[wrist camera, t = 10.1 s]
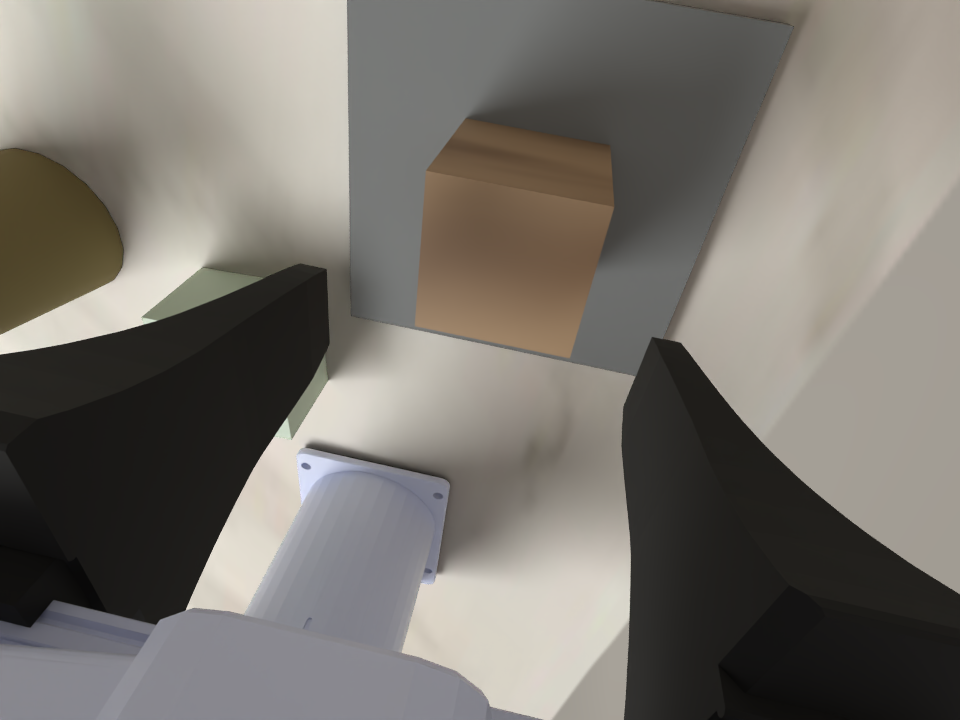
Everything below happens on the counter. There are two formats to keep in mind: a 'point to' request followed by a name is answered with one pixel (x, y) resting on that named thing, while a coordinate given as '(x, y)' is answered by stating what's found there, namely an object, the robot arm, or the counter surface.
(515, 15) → the mat
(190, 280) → the sage block
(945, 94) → the counter surface
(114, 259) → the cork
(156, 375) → the robot arm
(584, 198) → the walnut block
